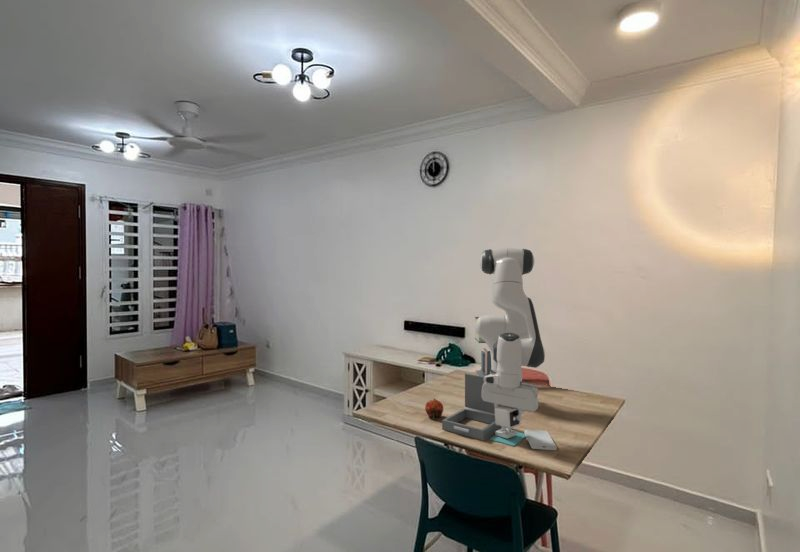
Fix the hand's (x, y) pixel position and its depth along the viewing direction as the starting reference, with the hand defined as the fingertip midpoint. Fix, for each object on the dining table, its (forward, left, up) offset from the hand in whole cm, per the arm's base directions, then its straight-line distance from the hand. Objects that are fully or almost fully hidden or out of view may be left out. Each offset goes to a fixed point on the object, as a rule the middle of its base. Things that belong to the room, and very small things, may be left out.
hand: (508, 418), depth 153 cm
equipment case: (0, -14, -7) cm, 16 cm away
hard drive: (-3, +10, -7) cm, 13 cm away
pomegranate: (-1, -32, -7) cm, 33 cm away
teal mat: (0, 0, -7) cm, 7 cm away
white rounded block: (0, 0, -6) cm, 6 cm away
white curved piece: (-71, -40, -7) cm, 82 cm away
